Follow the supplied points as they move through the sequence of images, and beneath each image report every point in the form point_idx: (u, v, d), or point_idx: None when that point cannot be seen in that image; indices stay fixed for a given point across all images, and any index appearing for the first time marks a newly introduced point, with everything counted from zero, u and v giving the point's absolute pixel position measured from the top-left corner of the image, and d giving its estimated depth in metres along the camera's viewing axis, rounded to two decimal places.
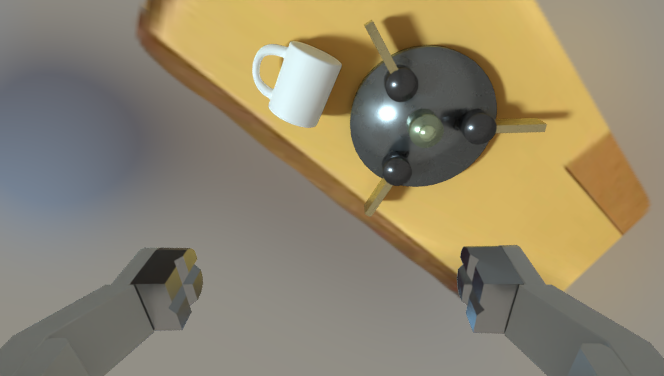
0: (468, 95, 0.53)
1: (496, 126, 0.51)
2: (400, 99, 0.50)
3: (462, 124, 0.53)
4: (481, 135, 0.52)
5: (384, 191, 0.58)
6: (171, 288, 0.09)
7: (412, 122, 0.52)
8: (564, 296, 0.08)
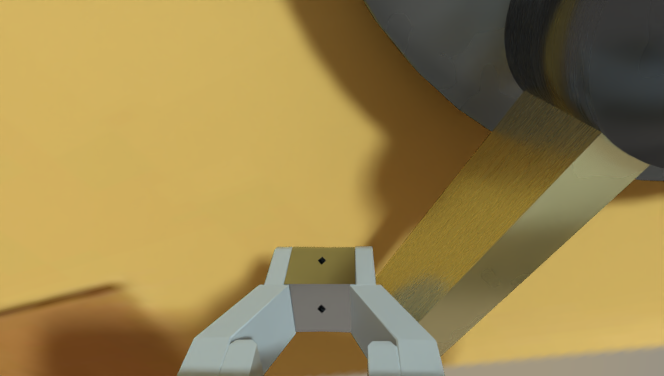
0: None
1: (655, 165, 0.06)
2: None
3: None
4: None
5: None
6: None
7: None
8: (388, 296, 0.08)
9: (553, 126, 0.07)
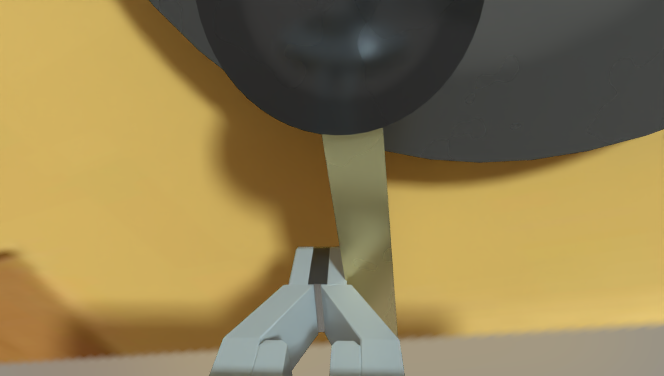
0: (519, 35, 0.09)
1: (378, 128, 0.07)
2: None
3: None
4: (291, 24, 0.06)
5: None
6: None
7: None
8: (358, 296, 0.08)
9: None
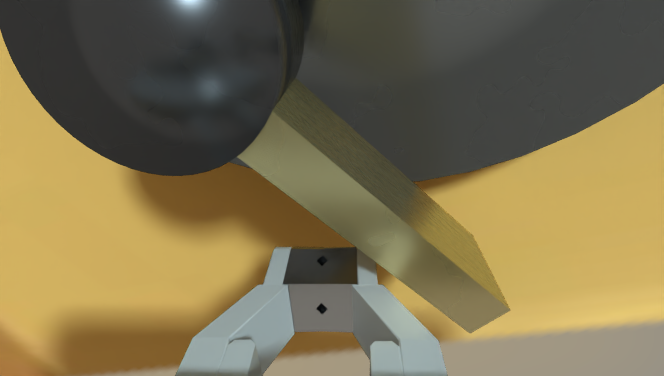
0: (387, 66, 0.09)
1: (267, 117, 0.06)
2: None
3: None
4: (136, 97, 0.06)
5: None
6: None
7: None
8: (390, 296, 0.08)
9: None
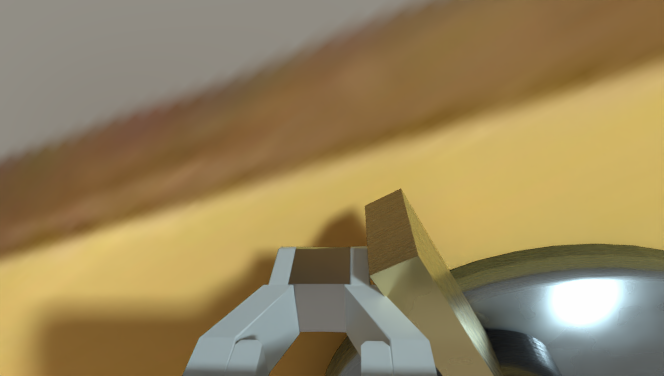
0: None
1: None
2: None
3: None
4: None
5: None
6: None
7: None
8: (382, 296, 0.08)
9: None
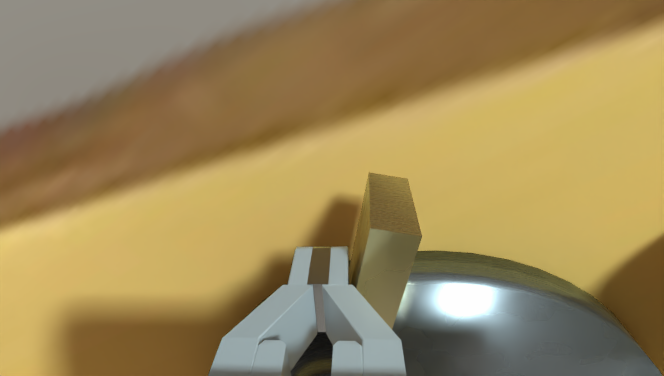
0: None
1: None
2: None
3: None
4: None
5: None
6: None
7: None
8: (359, 296, 0.08)
9: None
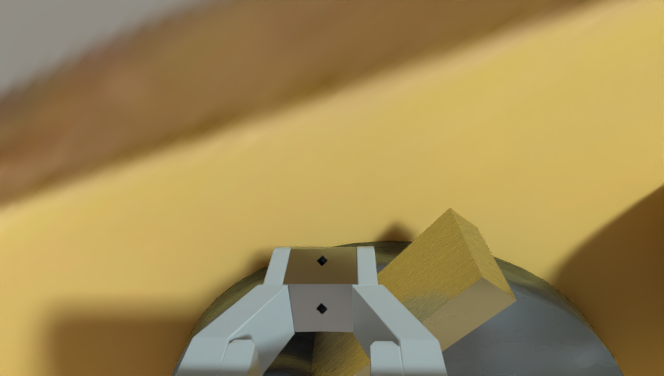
0: None
1: None
2: None
3: None
4: None
5: None
6: None
7: None
8: (390, 296, 0.08)
9: None
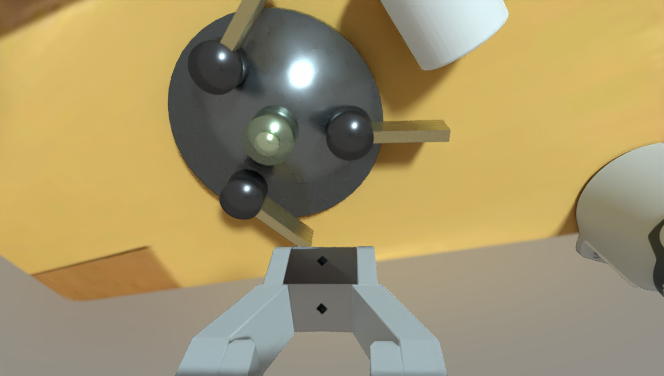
0: (287, 192, 0.41)
1: (259, 210, 0.38)
2: (333, 128, 0.33)
3: (230, 179, 0.38)
4: (238, 207, 0.38)
5: (235, 29, 0.29)
6: None
7: (289, 126, 0.34)
8: (390, 296, 0.08)
9: None
